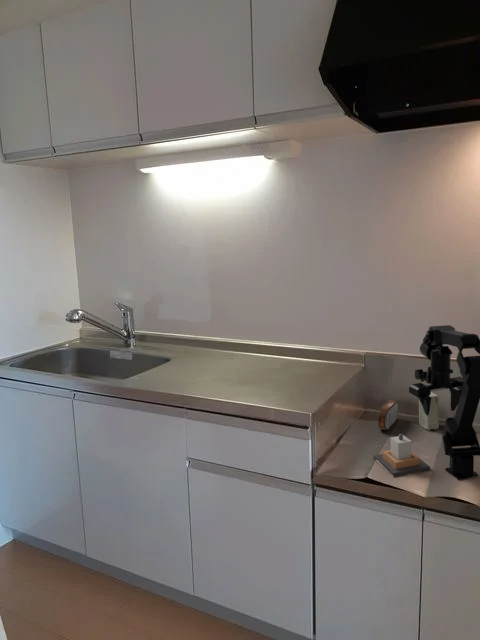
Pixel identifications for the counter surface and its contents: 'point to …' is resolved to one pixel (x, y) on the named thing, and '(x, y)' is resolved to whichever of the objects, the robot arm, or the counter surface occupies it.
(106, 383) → the counter surface
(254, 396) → the counter surface
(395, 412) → the tin
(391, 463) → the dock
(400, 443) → the light gray block
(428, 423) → the skincare box
